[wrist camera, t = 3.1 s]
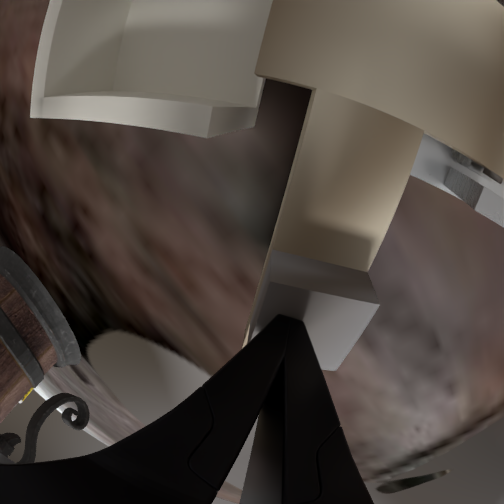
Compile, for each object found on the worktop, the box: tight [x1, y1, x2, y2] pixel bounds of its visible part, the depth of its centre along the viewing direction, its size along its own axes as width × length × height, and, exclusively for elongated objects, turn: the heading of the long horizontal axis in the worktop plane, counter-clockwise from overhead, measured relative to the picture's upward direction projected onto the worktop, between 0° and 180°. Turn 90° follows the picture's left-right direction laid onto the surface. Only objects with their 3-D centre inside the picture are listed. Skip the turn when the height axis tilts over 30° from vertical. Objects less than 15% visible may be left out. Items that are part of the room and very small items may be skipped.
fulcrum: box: [410, 0, 504, 227], centre depth 5 cm, size 5×9×3 cm, turn 167°
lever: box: [242, 0, 504, 371], centre depth 6 cm, size 16×15×2 cm
